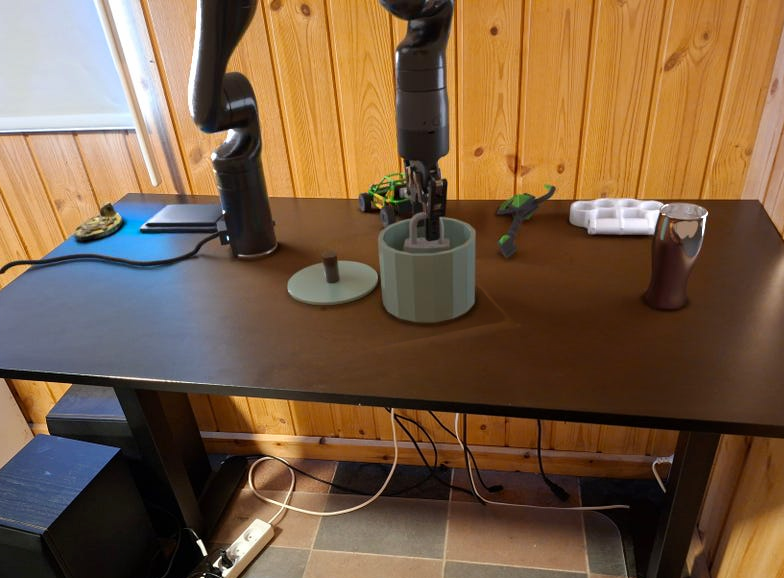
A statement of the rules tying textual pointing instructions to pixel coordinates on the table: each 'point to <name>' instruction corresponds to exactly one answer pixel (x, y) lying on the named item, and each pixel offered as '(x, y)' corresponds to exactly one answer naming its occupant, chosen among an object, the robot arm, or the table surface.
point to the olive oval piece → (100, 224)
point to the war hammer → (519, 216)
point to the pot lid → (332, 281)
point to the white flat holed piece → (616, 216)
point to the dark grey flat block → (185, 218)
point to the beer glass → (675, 253)
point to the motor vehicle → (388, 199)
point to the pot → (427, 273)
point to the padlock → (421, 243)
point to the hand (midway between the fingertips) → (426, 232)
